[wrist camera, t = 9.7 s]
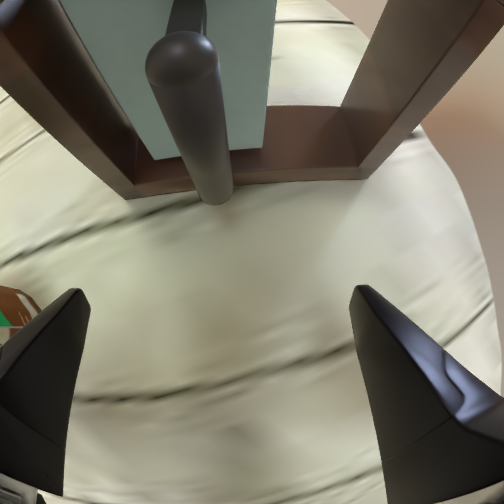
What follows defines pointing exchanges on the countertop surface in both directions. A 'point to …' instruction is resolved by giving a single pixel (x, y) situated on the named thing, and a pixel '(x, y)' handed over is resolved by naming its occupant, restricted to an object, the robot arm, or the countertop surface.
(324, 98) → the countertop surface
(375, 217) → the countertop surface
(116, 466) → the countertop surface
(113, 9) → the window sash
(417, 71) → the window frame
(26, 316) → the food container
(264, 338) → the countertop surface
